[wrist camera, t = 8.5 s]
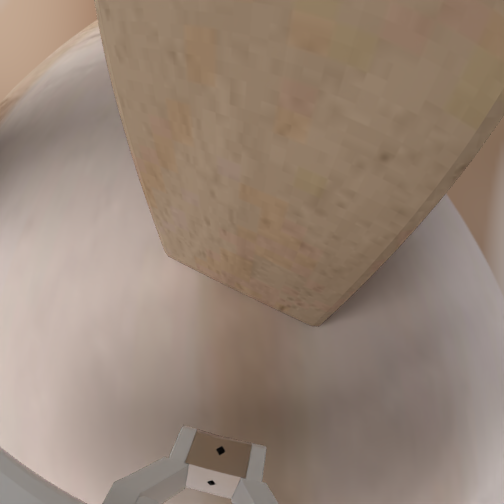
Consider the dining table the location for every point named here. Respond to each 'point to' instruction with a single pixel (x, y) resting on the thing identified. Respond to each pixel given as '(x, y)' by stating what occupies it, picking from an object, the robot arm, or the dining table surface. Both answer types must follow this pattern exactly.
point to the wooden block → (300, 130)
